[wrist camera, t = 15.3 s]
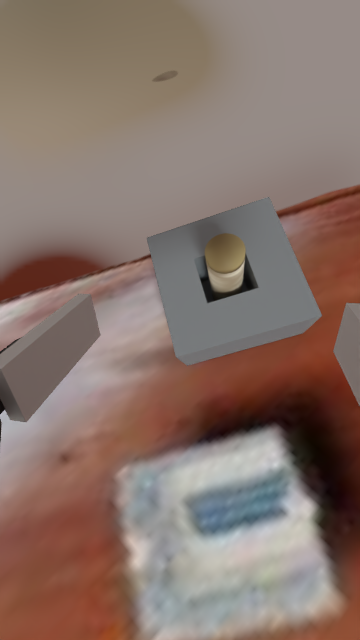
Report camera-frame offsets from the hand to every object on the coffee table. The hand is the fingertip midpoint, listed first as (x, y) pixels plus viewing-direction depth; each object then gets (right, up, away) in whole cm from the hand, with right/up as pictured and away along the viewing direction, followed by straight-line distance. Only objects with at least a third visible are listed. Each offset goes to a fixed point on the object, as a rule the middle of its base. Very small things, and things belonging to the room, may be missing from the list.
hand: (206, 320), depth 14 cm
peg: (+5, +4, +24) cm, 25 cm away
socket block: (+5, +3, +25) cm, 25 cm away
